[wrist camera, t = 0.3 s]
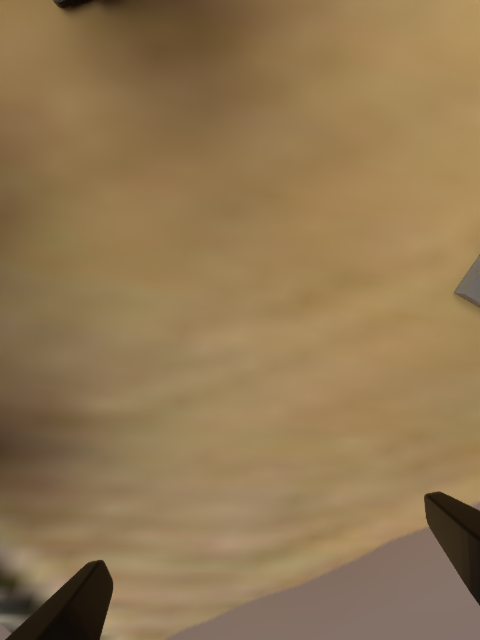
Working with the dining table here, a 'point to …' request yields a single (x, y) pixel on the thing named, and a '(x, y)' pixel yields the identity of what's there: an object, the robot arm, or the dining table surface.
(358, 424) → the dining table surface
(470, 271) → the grey compartment tray
